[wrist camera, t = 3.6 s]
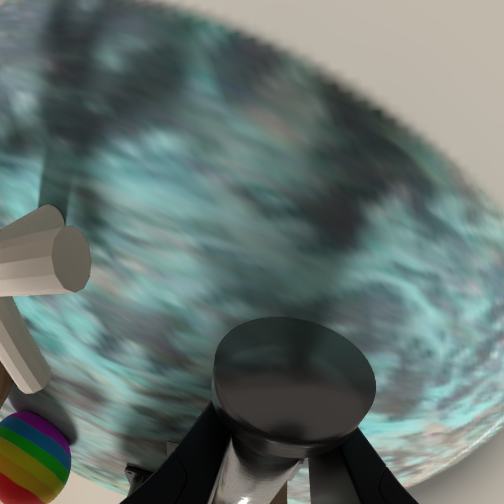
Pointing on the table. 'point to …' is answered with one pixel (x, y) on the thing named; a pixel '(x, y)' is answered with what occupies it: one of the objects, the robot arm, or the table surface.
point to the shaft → (284, 401)
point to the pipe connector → (36, 285)
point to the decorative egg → (32, 460)
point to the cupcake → (4, 384)
